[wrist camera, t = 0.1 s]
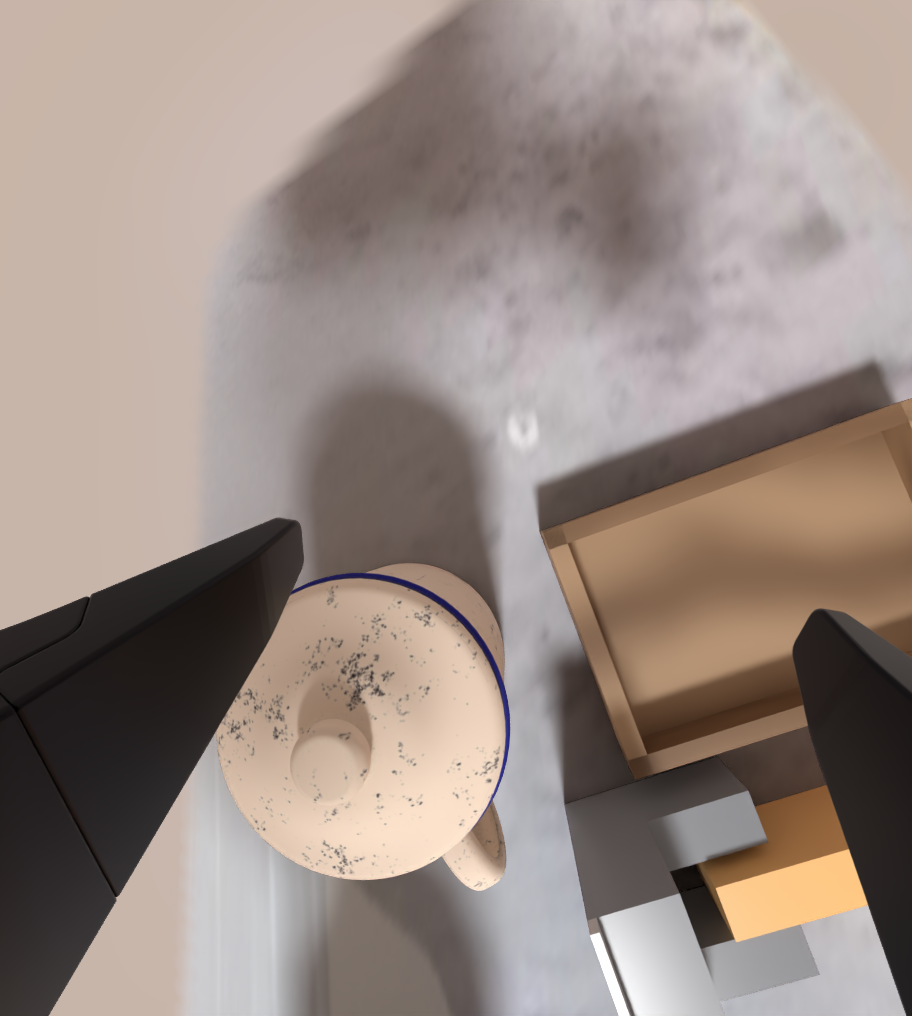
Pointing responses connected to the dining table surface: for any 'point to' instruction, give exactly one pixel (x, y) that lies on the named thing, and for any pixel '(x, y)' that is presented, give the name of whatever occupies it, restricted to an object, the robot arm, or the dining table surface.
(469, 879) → the teacup with lid
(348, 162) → the dining table surface
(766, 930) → the tan elongated block
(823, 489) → the tray
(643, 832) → the grey slotted holder
